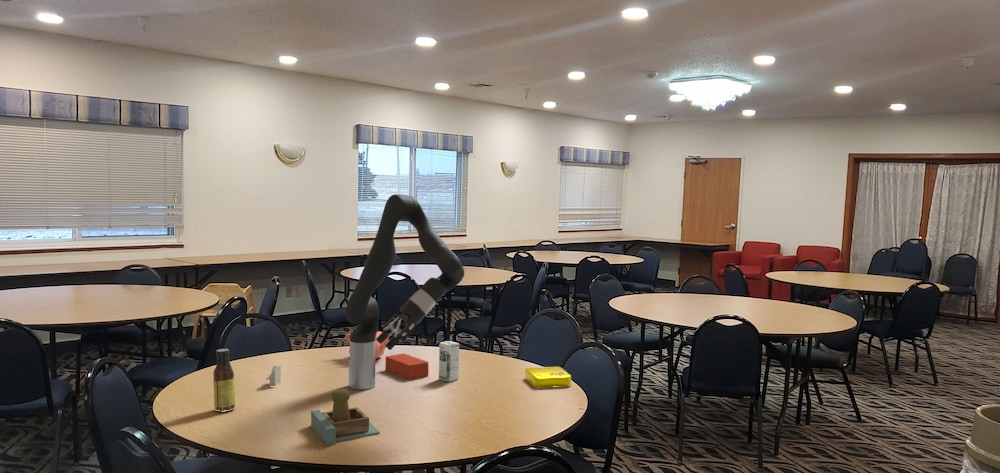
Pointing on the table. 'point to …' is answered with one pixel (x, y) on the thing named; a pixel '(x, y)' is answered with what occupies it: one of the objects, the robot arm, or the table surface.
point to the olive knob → (340, 405)
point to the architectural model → (275, 376)
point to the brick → (407, 366)
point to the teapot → (378, 347)
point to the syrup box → (448, 361)
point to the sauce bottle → (223, 382)
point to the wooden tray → (350, 422)
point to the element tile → (547, 377)
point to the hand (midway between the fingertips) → (382, 344)
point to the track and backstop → (334, 429)
